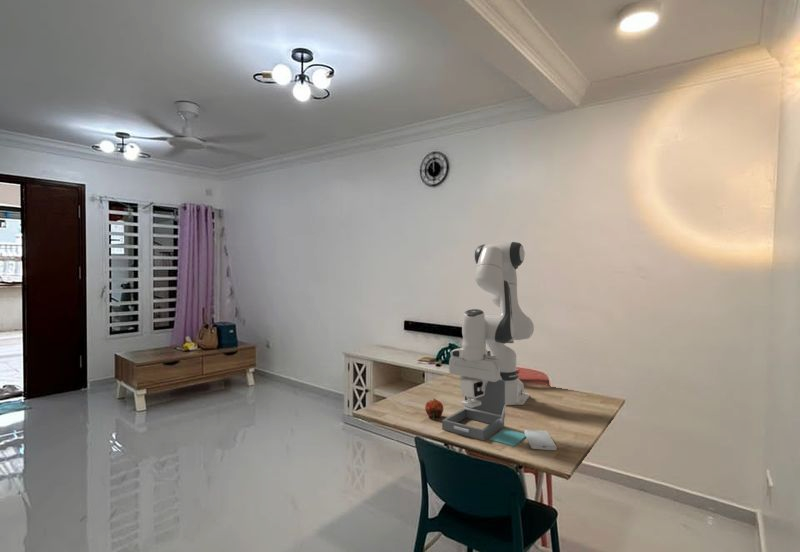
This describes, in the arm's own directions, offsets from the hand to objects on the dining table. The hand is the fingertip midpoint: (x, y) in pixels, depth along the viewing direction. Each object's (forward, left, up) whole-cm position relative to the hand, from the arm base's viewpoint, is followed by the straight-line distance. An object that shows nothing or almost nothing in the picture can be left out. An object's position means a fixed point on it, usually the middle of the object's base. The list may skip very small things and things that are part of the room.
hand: (473, 389), depth 162 cm
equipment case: (+1, 0, -15) cm, 15 cm away
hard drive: (-2, +25, -15) cm, 29 cm away
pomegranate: (0, -18, -15) cm, 23 cm away
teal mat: (+1, +15, -15) cm, 21 cm away
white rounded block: (0, 0, -6) cm, 6 cm away
